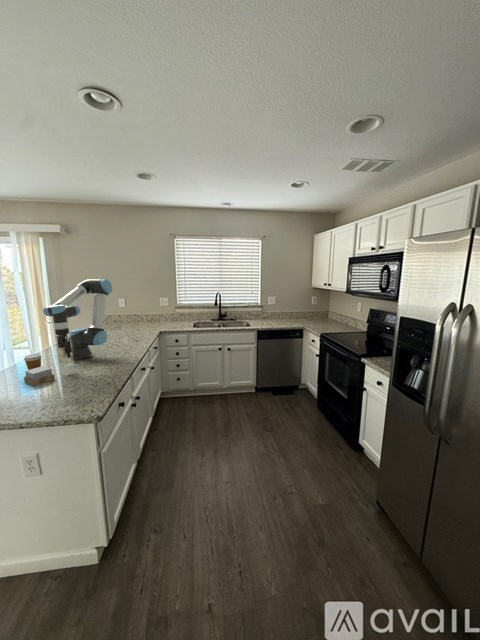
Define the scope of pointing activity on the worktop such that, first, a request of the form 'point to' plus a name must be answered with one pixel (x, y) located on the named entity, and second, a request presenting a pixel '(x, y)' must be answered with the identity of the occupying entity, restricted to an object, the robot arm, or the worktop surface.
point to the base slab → (39, 380)
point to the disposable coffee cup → (33, 361)
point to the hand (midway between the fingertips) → (66, 361)
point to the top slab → (38, 372)
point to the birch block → (63, 355)
